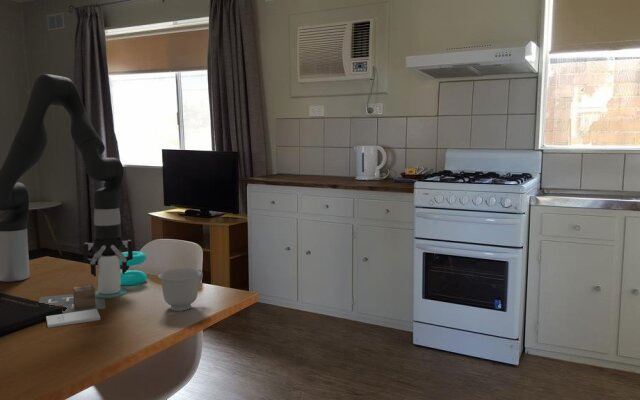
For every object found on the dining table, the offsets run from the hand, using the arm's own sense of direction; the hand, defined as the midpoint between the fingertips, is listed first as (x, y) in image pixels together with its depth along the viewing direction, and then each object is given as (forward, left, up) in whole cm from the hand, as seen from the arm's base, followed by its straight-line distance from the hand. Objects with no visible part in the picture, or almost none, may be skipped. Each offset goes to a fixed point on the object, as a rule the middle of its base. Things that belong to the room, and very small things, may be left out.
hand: (109, 274), depth 160 cm
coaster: (0, 0, -6) cm, 6 cm away
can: (0, 0, -6) cm, 6 cm away
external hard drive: (+22, -9, -7) cm, 25 cm away
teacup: (+22, +20, -6) cm, 30 cm away
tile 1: (+2, -14, -6) cm, 15 cm away
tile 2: (+10, -7, -6) cm, 14 cm away
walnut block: (+10, -7, -6) cm, 14 cm away
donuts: (-12, +7, -6) cm, 15 cm away
